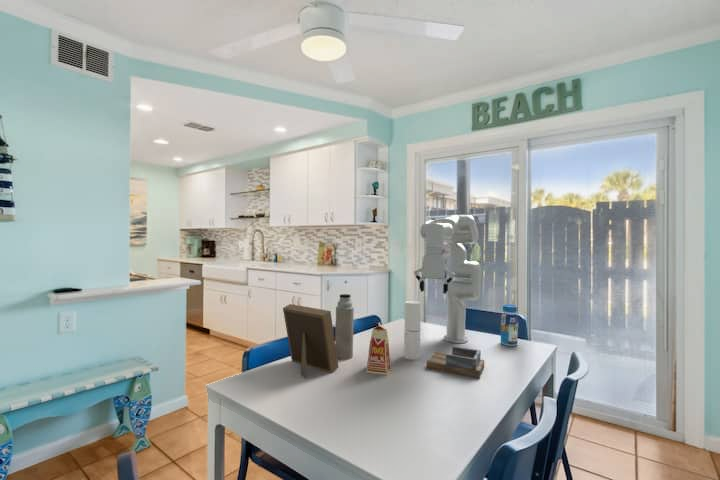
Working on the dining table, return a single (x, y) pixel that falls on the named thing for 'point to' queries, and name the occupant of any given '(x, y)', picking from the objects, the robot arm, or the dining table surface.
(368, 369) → the milk carton
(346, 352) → the thermos bottle
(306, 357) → the photo frame
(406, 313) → the cylindrical container
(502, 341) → the beverage bottle
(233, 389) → the dining table surface
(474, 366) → the dock
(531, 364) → the dining table surface
